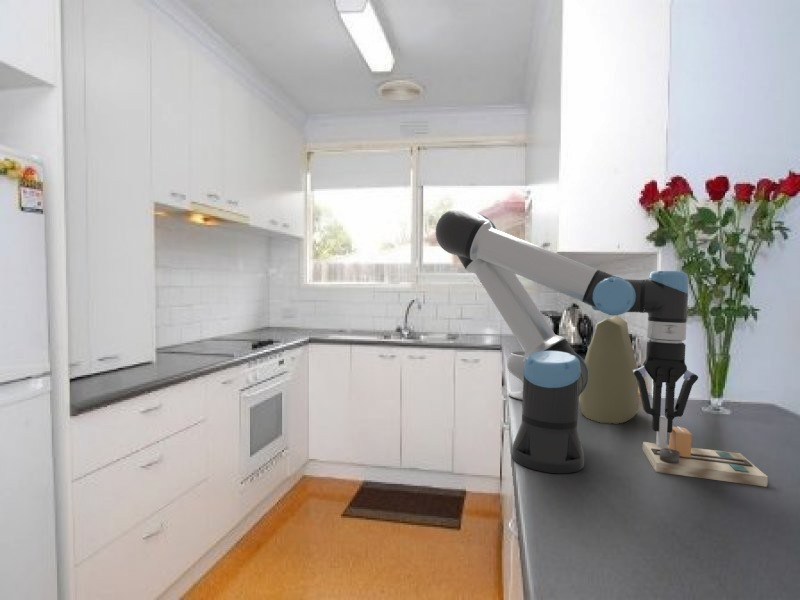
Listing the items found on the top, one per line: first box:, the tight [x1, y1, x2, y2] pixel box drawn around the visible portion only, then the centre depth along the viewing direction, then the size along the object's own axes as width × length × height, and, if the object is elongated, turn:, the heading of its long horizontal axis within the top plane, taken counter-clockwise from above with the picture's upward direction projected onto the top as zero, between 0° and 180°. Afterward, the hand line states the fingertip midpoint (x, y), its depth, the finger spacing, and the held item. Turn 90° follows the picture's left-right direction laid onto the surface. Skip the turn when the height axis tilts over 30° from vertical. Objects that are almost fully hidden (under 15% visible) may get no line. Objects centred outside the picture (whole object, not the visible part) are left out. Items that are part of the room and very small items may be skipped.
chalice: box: [506, 350, 525, 401], centre depth 164 cm, size 14×14×15 cm
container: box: [578, 315, 639, 425], centre depth 146 cm, size 24×17×30 cm
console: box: [642, 441, 769, 488], centre depth 105 cm, size 20×14×4 cm
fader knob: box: [668, 426, 693, 457], centre depth 106 cm, size 3×5×5 cm, turn 163°
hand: (661, 445), depth 107 cm, fingers closed
